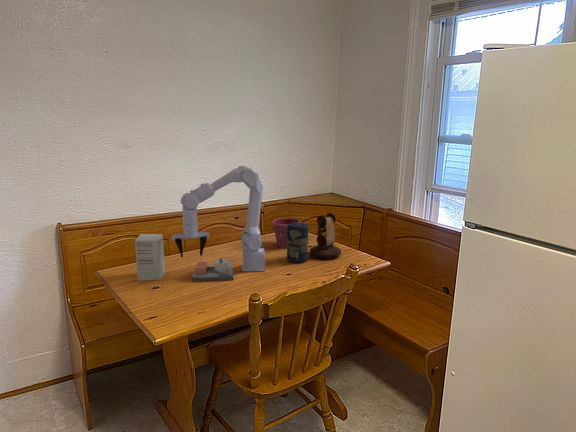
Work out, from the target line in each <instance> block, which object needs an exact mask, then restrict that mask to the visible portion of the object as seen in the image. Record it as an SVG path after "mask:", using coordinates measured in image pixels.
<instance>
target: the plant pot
mask: <svg viewBox="0 0 576 432" xmlns="http://www.w3.org/2000/svg"><path fill="white" fill-rule="evenodd" d="M295 222H300V223H302V222H301V220H300V219H298V218H292V217H283V218H282V217H281V218H280V217H279V218H275V219H274V220H272V226H271V227H272V230H273V231H274V235H275V236H274V237H275V241H276V245H277V246H278V248H281V249H282V248H283V249H287V227H288V225H289V224H290V223H295Z"/></svg>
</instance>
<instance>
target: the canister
mask: <svg viewBox="0 0 576 432" xmlns="http://www.w3.org/2000/svg"><path fill="white" fill-rule="evenodd" d="M308 253H309V225H308V224H307V223H304V222H301V223H300V222H295V223H290V224H289V225H288V227H287V248H286V258H287V260H288V261H289V262H293V263H304V262H306V261H307V260H308V258H309V254H308Z"/></svg>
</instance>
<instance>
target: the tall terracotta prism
mask: <svg viewBox="0 0 576 432" xmlns="http://www.w3.org/2000/svg"><path fill="white" fill-rule="evenodd" d="M195 266H196V268H195V267H194V271H195V270H196V274H206V273H207V266H208V261H197V262H196V264H195Z"/></svg>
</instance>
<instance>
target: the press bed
mask: <svg viewBox="0 0 576 432" xmlns="http://www.w3.org/2000/svg"><path fill="white" fill-rule="evenodd" d="M233 266H234V265H233V259H228V275H218V274H215V265H207V273H206V274H196V270H195V268H196V265H195V266H194V273H192V282H220V281H222V282H223V281H234V276H235V268H234V267H233Z"/></svg>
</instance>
